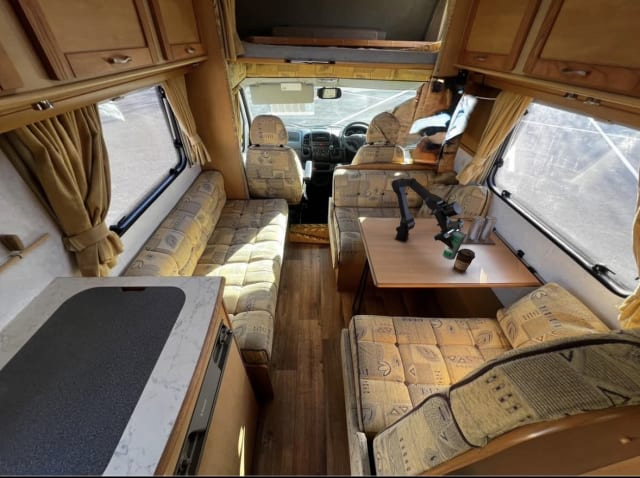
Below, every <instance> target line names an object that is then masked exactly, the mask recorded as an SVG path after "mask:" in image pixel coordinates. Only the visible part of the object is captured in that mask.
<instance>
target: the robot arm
mask: <svg viewBox="0 0 640 478" xmlns="http://www.w3.org/2000/svg"><path fill="white" fill-rule="evenodd" d="M407 187H409V188H410V189H411V190H412V191H413V192H415V193H416V195H418V196H419V197H420V198H421V199H423V201H424V204H425V205H426V207H427V208H428V209H429V210H431V212H430V214H429V216H433V215H434V217H435V220H436V221H437V223H436V226H437V227H439V229H440V232H438V233H436V234H434V235H433V239H434V241H435V242H436V241H438V242H442V243H443V244H444V245H445V246H446V245H447V246H448V247H449V248H451V249H453V246H452V243H451V241H450V237H451V236H449V234H450V235H451V233H452V231H455V230H456V231H460V232H462V229H463V228H464V225H465V221H464V219H463V218H461V217H459V218H457V219H456V220H453V218H452V217H454V216H457V215H460V214H462V211H463V209H462V206H461V205H460V204H459V203H458V202H456V201H452V202H450V203H449V202H447V201H446V200H444V199H443V198H442V197H441V196H440V195H438V194H435V193H432V192H430V191H429V189H427V188H426V187H424V186H423V185H422V184H421V183H420V182H419V181H417V179H416V178H415V177H410V178H409V177H407V178H404V177H399V178H395V179H393V180H392V182H391V188H392V191H393V192H394V193H395V194H396V198H397V203H398V207H399V212H400V221H399V226H396V227H395V231H396V235H395V238H394V239H395V240H396V241H398V242H399V241H400V242H403V243H406V242H407V241H408V239H409V235H410V231H411V230H413V229H414V228H415V225H416V221H415V218H414V217H412V216H411V214H410V210H409V205H408V199H407V195H406V191H407Z"/></svg>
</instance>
